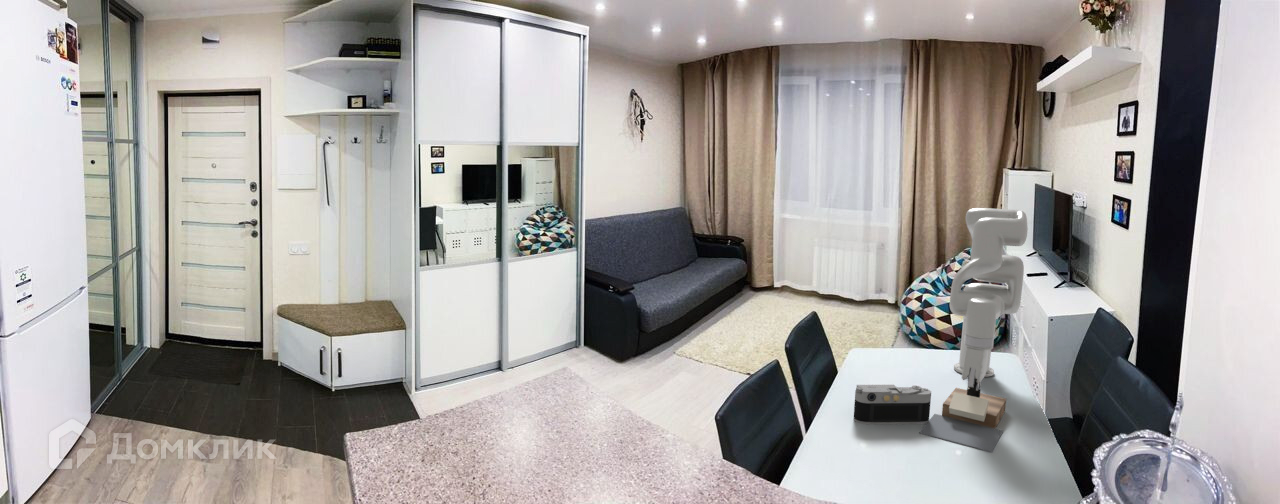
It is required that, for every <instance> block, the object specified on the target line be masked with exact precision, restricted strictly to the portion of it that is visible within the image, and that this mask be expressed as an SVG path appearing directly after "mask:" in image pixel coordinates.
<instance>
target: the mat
mask: <svg viewBox="0 0 1280 504" xmlns="http://www.w3.org/2000/svg"><path fill="white" fill-rule="evenodd" d="M1003 431H1004V430H1003V429H998V428H991V427H987V426H983V425H979V424H975V423H971V422H967V421H962V420H958V419H954V418H950V417H946V416H942V414H937V413H934V414H932V416H931V418H929V421H928V422H927V423H925V425H924V426H923V427H922V429H921V430H920V431H919V432H918V434H920V435H925V436H929V437H932V438H936V439H940V440H943V441H946V442H947V441H948V442H951V443H955V444H959V445H962V446H967V447H969V448H973V449H977V450H980V451H984V452H989V453H992V452H993V450H994V449H995V448H996V445H997V444H998V441H999V439H1000V438H1001V435H1002V434H1003Z"/></svg>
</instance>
